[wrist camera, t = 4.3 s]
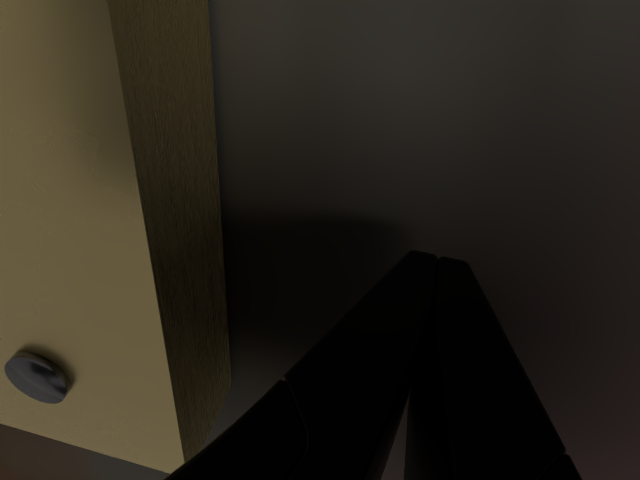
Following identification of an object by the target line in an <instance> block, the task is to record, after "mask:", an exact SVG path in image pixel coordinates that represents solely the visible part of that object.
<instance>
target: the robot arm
mask: <svg viewBox="0 0 640 480" xmlns="http://www.w3.org/2000/svg"><path fill="white" fill-rule="evenodd" d="M410 387H411V389H410ZM409 391H410V395H409ZM408 395H409V404H408V416H407V434H406V452H405V469H404V480H582V479H581V477H580V475H579V473H578V471H577V469H576V467H575V465H574V463H573V461H572V459H571V457H570V456H569V455H567V454H565V453H566V448H565V447H564V445H563V443H562V441H561V439H560V437H559V435H558V433H557V431H556V429H555V428H554V426H553V424H552V422H551V420H550V418H549V416H548V414H547V412H546V410H545V408H544V407H543V405H542V403H541V401H540V399H539V397H538V395H537V393H536V391H535V389H534V388H533V386H532V384H531V382H530V380H529V378H528V376H527V374H526V372H525V370H524V368H523V367H522V365H521V363H520V361H519V359H518V357H517V355H516V353H515V351H514V349H513V348H512V346H511V344H510V342H509V340H508V338H507V336H506V334H505V332H504V330H503V329H502V327H501V325H500V323H499V321H498V319H497V317H496V315H495V313H494V311H493V309H492V308H491V306H490V304H489V302H488V300H487V298H486V296H485V294H484V292H483V290H482V289H481V287H480V285H479V283H478V281H477V279H476V277H475V275H474V273H473V271H472V270H471V268H470V266H469V264H468V263H467V262H465V261H462V260H458V259H453V258H448V257H440V258H439V259H438V258H437V256H436V255H434V254H430V253H425V252H420V251H416V250H411V251H409V252H408V253H407V254H406V255H405V256H404V257H403V258H402V259H401V260H400V261H399V262H398V263H397V264H396V265H395V266H394V267H393V268H392V269H391V270H390V271H389V272H388V273H387V274H386V275H385V276H384V277H383V278H382V279H381V280H380V281H379V282H378V283H377V284H376V285H375V286H374V287H373V288H372V289H371V290H370V291H369V292H368V293H367V294H366V295H365V296H364V297H363V298H362V299H361V300H360V301H359V302H358V303H357V304H356V305H355V306H354V307H353V308H352V309H350V310H349V311H348V312H347V313H346V314H345V315H344V316H343V317H342V318H341V319H340V320H339V321H338V322H337V323H336V324H335V325H334V326H333V327H332V328H331V329H330V330H329V331H328V332H327V333H326V334H325V335H324V336H323V337H322V338H321V339H320V340H319V341H318V342H317V343H316V344H315V345H314V346H313V347H312V348H311V349H310V350H309V351H308V352H307V353H306V354H305V355H304V356H303V357H302V358H301V359H300V360H299V361H298V362H297V363H296V364H295V365H294V366H293V367H292V368H291V369H290V370H289V371H288V372H287V373H286V374H285V375H284V376H283V380H279V381H278V382H277V383H276V384H275V385H274V386H273V387H272V388H271V389H270V390H269V391H268V392H267V393H266V394H265V395H264V396H263V397H262V398H261V399H260V400H259V401H257V402H256V403H255V404H254V405H253V406H252V407H251V408H250V409H249V410H248V411H247V412H246V413H244V414H243V415H242V416H241V417H240V418H239V419H238V420H237V421H236V422H235V423H234V424H232V425H231V426H230V427H229V428H228V429H226V430H225V431H224V432H223V433H221V434H220V435H219V436H218V437H217V438H215V439H214V440H213V441H212V442H210V443H209V444H208V445H207V446H205V447H204V448H203V449H202V450H201V451H199V452H198V453H197V454H195V455H194V456H193V457H192V458H190V459H189V460H188V461H186V462H185V463H184V464H182V465H181V466H180V467H179V468H177V469H176V470H175V471H173V472H172V473H171V474H169V475H168V476H167V477H166V478H164V479H163V480H381V478H382V475H383V472H384V469H385V466H386V463H387V460H388V457H389V454H390V451H391V448H392V445H393V442H394V439H395V436H396V433H397V430H398V427H399V424H400V421H401V418H402V415H403V412H404V409H405V405H406V402H407V399H408Z"/></svg>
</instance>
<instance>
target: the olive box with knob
mask: <svg viewBox="0 0 640 480" xmlns="http://www.w3.org/2000/svg"><path fill="white" fill-rule="evenodd" d="M231 386H232V384H231V367H230V351H229V335H228V319H227V303H226V287H225V270H224V254H223V238H222V222H221V206H220V190H219V173H218V157H217V141H216V125H215V109H214V92H213V76H212V60H211V44H210V28H209V12H208V0H0V423H1V424H4V425H7V426H11V427H14V428H18V429H21V430H24V431H28V432H31V433H35V434H38V435H41V436H45V437H48V438H51V439H55V440H58V441H62V442H65V443H68V444H72V445H75V446H79V447H82V448H85V449H89V450H92V451H95V452H99V453H102V454H106V455H109V456H112V457H116V458H119V459H123V460H126V461H129V462H133V463H136V464H139V465H143V466H146V467H150V468H153V469H156V470H160V471H163V472H167V473H170V474H171V473H172V472H173V471H175V470H176V469H177V468H179V467H180V466H181V465H182V464H184V463H185V462H186V461H188V460H189V459H190V458H192V457H193V456H194V455H195V454H197V453H198V452H199V451H201V448H202V446H203V444H204V442H205V440H206V438H207V436H208V434H209V432H210V430H211V428H212V425H213V423H214V421H215V419H216V417H217V415H218V413H219V411H220V409H221V407H222V405H223V403H224V400H225V398H226V396H227V394H228V392H229V390H230V388H231Z"/></svg>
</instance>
